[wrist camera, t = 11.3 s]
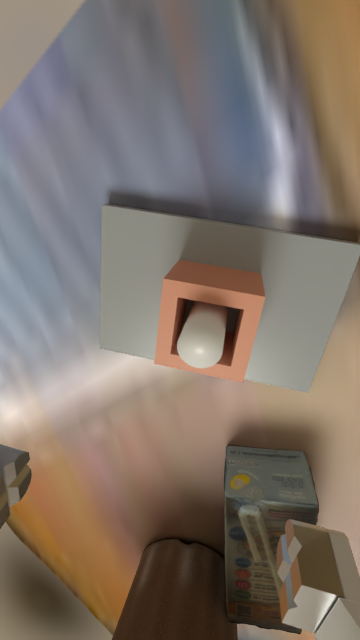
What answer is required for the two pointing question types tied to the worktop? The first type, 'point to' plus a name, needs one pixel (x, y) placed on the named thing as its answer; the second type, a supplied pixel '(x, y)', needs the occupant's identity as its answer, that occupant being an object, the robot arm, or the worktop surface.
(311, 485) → the beverage carton
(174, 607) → the plant pot
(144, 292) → the post board
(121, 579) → the worktop surface
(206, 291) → the collar
